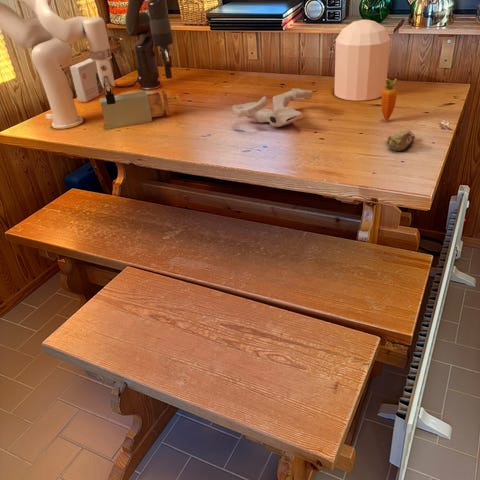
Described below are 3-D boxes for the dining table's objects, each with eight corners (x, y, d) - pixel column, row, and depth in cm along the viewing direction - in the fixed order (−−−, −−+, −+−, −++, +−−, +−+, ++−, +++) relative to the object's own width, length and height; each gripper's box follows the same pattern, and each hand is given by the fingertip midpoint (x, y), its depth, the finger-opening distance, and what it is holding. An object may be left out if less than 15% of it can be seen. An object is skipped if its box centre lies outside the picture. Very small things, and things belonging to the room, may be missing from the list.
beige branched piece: (230, 133, 167) (227, 101, 161) (244, 110, 188) (241, 81, 182) (308, 133, 161) (308, 99, 155) (313, 109, 182) (314, 78, 176)
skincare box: (87, 102, 214) (77, 67, 204) (78, 102, 215) (68, 66, 206) (113, 88, 229) (105, 54, 220) (104, 88, 231) (96, 54, 222)
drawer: (181, 109, 192) (177, 88, 187) (183, 112, 189) (179, 91, 184) (127, 118, 188) (122, 97, 183) (128, 122, 184) (123, 100, 179)
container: (354, 104, 182) (359, 27, 166) (324, 91, 198) (325, 20, 182) (396, 93, 189) (404, 18, 173) (363, 81, 205) (368, 12, 189)
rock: (408, 140, 153) (379, 139, 152) (414, 122, 149) (384, 120, 148) (421, 154, 144) (391, 153, 143) (428, 135, 140) (396, 133, 139)
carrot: (394, 118, 167) (398, 76, 158) (393, 123, 163) (397, 80, 154) (379, 117, 168) (383, 75, 160) (378, 122, 165) (382, 80, 156)
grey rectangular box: (150, 116, 191) (145, 90, 185) (152, 121, 186) (147, 94, 180) (106, 124, 188) (99, 98, 182) (106, 129, 183) (99, 102, 177)
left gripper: (112, 58, 165) (122, 105, 175) (109, 48, 178) (118, 92, 188) (91, 61, 163) (102, 108, 173) (89, 50, 177) (100, 95, 187)
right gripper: (174, 32, 168) (181, 80, 178) (168, 26, 178) (175, 72, 188) (153, 35, 166) (162, 84, 176) (149, 29, 177) (157, 75, 187)
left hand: (110, 100), depth 181 cm, fingers open, 9 cm apart
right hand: (169, 78), depth 182 cm, fingers closed
